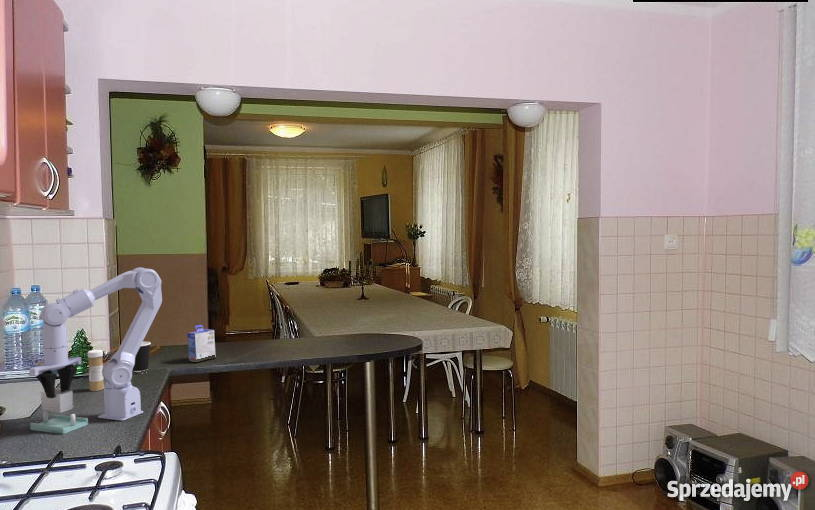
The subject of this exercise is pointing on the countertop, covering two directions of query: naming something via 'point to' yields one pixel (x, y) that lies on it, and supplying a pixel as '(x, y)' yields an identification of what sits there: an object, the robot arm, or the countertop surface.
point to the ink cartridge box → (201, 343)
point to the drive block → (57, 401)
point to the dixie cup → (142, 357)
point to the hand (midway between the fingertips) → (58, 395)
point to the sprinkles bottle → (95, 370)
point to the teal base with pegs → (59, 423)
